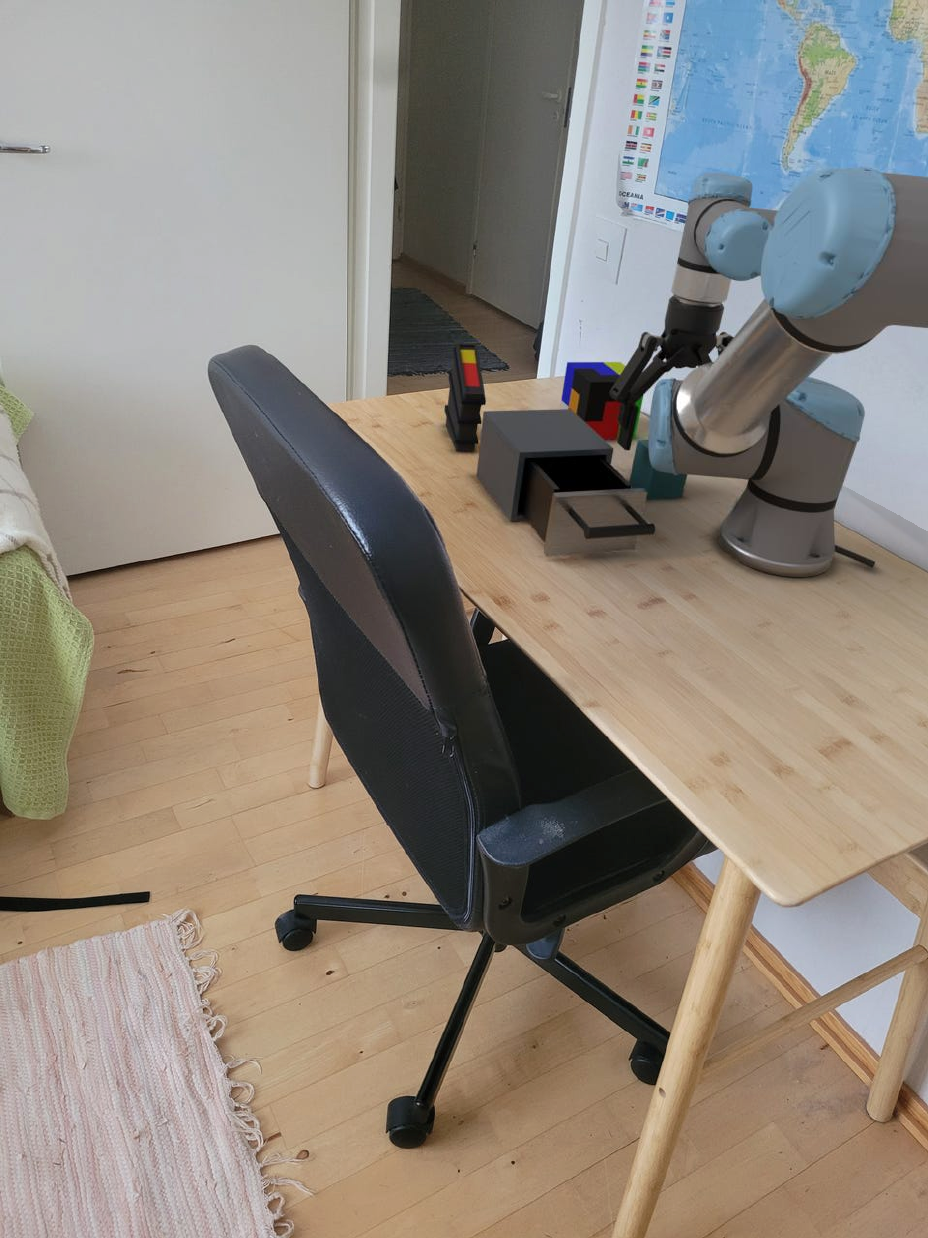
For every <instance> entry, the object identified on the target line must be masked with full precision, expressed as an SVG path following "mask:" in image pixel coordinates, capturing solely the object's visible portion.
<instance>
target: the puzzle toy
mask: <svg viewBox="0 0 928 1238" xmlns="http://www.w3.org/2000/svg"><path fill="white" fill-rule="evenodd" d="M625 367H626V365H625V364H624V363H623V362H621V361H573V362H572V361H567V362H566V367H565V374H564V381H563V387H562V394H561V399H560V406H559V410H561V409H571V410H572V411H573V412H574V413H575V414H577V415H578V416H579V417H580V418H581V419H582V420H583V421H584V422H585V423H586V424H587V425H589V426H590V427H591V428H592V429H593V430H594V431H595V432H596V433H597V434H598V435H599V436H600V437H602V438H603V439H604V440H605V441H606V440H607V441H608V440H618V437H619V432H620V427H621V426H620V425H619V424H618V422H617V418H618V414H619V408H620V403H619V402H617V401H616V400H615V399H614V398H612V397H611V396H610V394H609V392H610V390H611V388H612V387H613V385H614V384H615V382H616V381H617V379H618V378H619V376H620V374H621V373H622V371H623V370H624V368H625ZM643 400H644V395H643V396H642V397H641V398H640V399H639V400H638V401H637V402H636V403H635V405H637V406H638V407H639V409H638V414H637V419H636V424H635V429H634V433H633V438H632V440H635V438H636V433H637V430H638V424H639V420H640V415H641V410H642V404H643Z"/></svg>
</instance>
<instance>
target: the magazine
mask: <svg viewBox="0 0 928 1238" xmlns="http://www.w3.org/2000/svg"><path fill="white" fill-rule="evenodd" d="M452 348H453V349H452V353H453V363H452V370H451V371H452V372H449V373H448V377H447V378H448V383H449V391H448V399H447V404H445V405H444V411H443V412H444V414H445V417H446V418H445V427H446V430H447V433H448V435H449V438H450V439H451V442H452V444H453V447H454V449H455V451H456V452H466V453H467V452H468V453H473V452H475V451H476V445H479V443H480V442H479V441H480V440H479V437H478V434H477V433H478V426H479V425H482V422H483V420H482V417H481V409H482V406H486V404H487V399H486V391H485V386H484V380H483V374H482V367H481V362H480V357H479V356H480V355H479V350H478V345H477V344H476V343H467V342H458V343H457V345H456V346H454V347H452Z"/></svg>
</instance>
